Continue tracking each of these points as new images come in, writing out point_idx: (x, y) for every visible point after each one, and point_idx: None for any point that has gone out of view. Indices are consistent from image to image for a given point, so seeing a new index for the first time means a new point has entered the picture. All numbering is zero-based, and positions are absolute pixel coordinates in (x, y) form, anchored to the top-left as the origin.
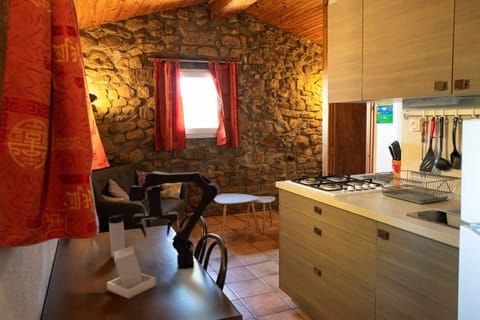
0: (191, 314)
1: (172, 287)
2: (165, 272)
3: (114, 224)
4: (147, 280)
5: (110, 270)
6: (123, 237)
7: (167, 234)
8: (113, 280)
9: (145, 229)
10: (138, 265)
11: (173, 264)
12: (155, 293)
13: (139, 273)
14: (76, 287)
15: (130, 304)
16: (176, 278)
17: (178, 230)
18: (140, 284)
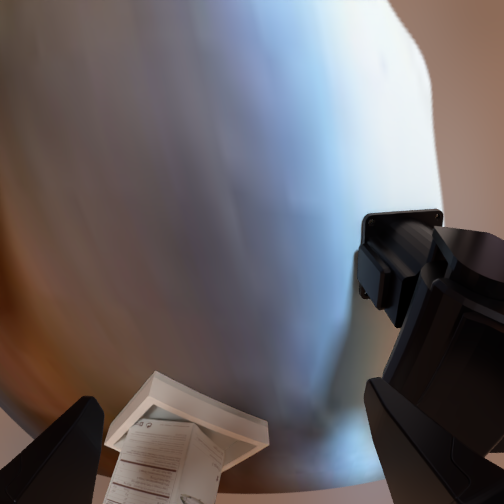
0: (360, 482)
1: (327, 427)
2: (290, 329)
3: None
4: (243, 455)
5: (9, 277)
6: None
7: (375, 425)
8: (115, 440)
9: (55, 475)
10: (199, 484)
11: (327, 224)
12: (275, 450)
13: (217, 485)
14: (14, 386)
15: (220, 476)
16: (344, 379)
17: (490, 449)
18: (227, 468)
